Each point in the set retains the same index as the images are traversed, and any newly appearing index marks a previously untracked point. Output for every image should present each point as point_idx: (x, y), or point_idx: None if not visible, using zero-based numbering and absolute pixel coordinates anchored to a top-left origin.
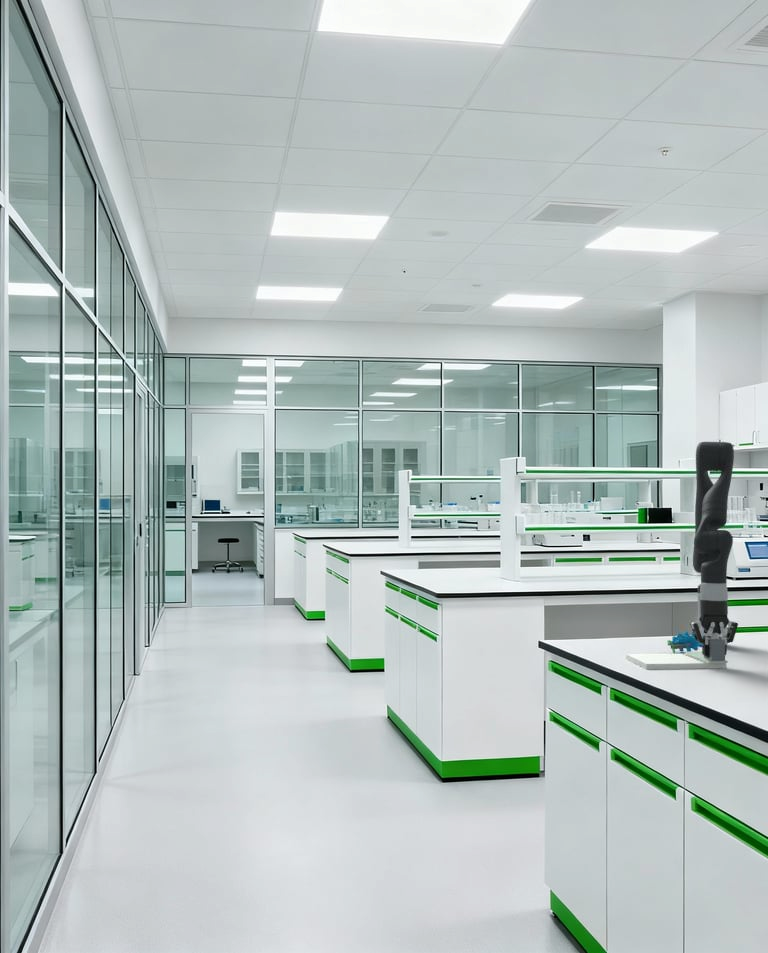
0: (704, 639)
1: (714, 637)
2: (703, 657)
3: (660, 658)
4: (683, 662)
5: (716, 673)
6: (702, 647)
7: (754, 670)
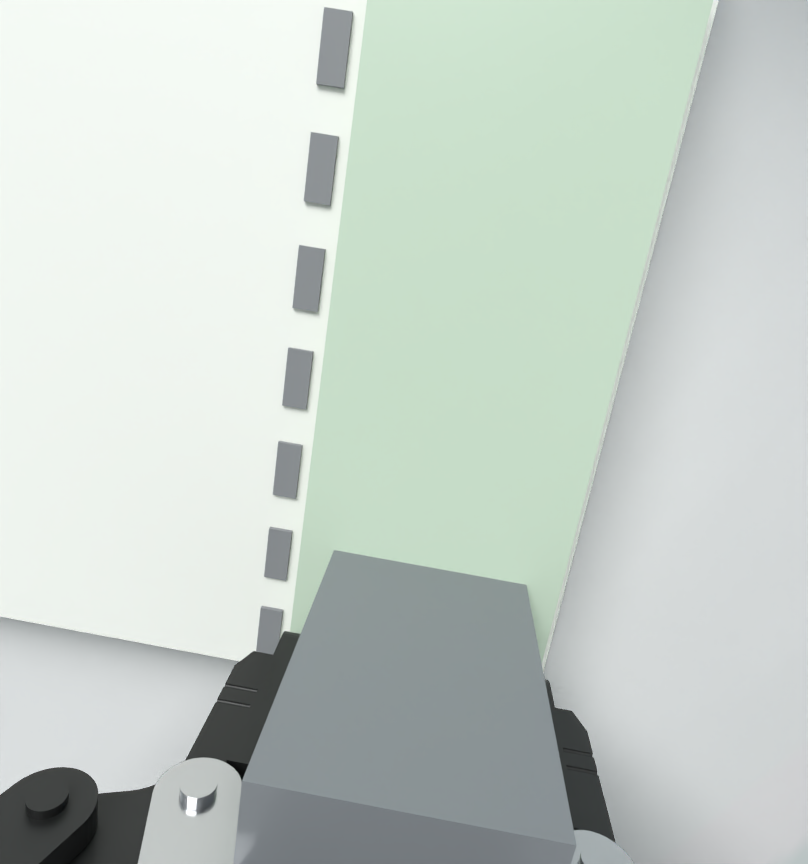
0: (193, 858)
1: (511, 835)
2: (352, 513)
3: None
4: (22, 562)
5: None
6: (200, 737)
7: (736, 833)
